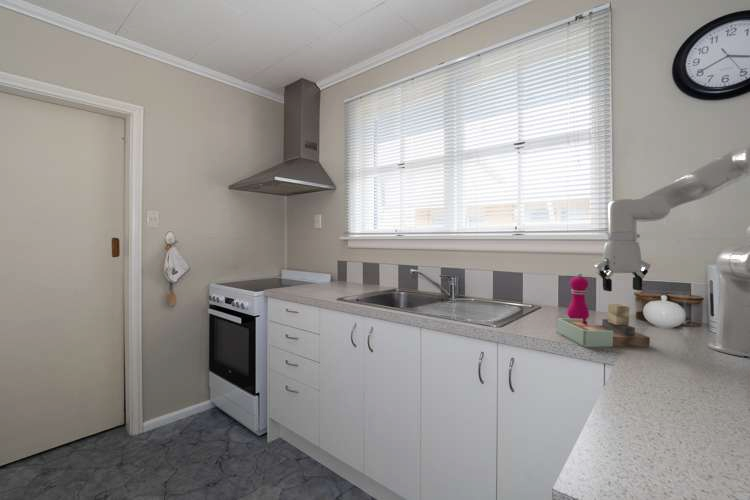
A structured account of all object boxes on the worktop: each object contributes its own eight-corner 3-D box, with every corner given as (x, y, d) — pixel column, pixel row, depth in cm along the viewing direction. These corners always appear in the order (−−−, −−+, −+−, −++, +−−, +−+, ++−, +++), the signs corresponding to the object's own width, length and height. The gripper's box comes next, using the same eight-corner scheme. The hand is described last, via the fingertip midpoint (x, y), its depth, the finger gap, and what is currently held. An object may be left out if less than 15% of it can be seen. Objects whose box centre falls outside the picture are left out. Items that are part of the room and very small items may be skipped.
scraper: (612, 326, 119) (613, 302, 119) (636, 335, 108) (637, 308, 108) (600, 326, 119) (601, 301, 119) (623, 335, 108) (624, 308, 108)
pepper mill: (592, 327, 129) (594, 274, 128) (573, 327, 129) (575, 273, 128) (581, 322, 136) (583, 272, 135) (563, 322, 136) (564, 271, 136)
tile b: (579, 322, 119) (571, 321, 119) (586, 325, 115) (578, 325, 115) (578, 333, 119) (571, 333, 119) (585, 337, 115) (578, 336, 115)
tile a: (590, 326, 113) (582, 326, 113) (598, 330, 109) (590, 330, 109) (590, 339, 113) (582, 338, 113) (597, 342, 109) (589, 342, 109)
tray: (581, 332, 122) (582, 318, 122) (612, 347, 106) (613, 331, 106) (556, 332, 122) (556, 318, 122) (583, 347, 106) (584, 330, 106)
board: (617, 334, 121) (618, 325, 121) (649, 347, 107) (649, 337, 107) (583, 333, 121) (583, 325, 121) (610, 346, 107) (610, 336, 107)
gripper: (640, 237, 116) (640, 288, 117) (588, 238, 116) (588, 289, 117) (658, 237, 109) (658, 291, 109) (603, 238, 109) (603, 292, 109)
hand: (622, 290), depth 113 cm, fingers open, 9 cm apart
